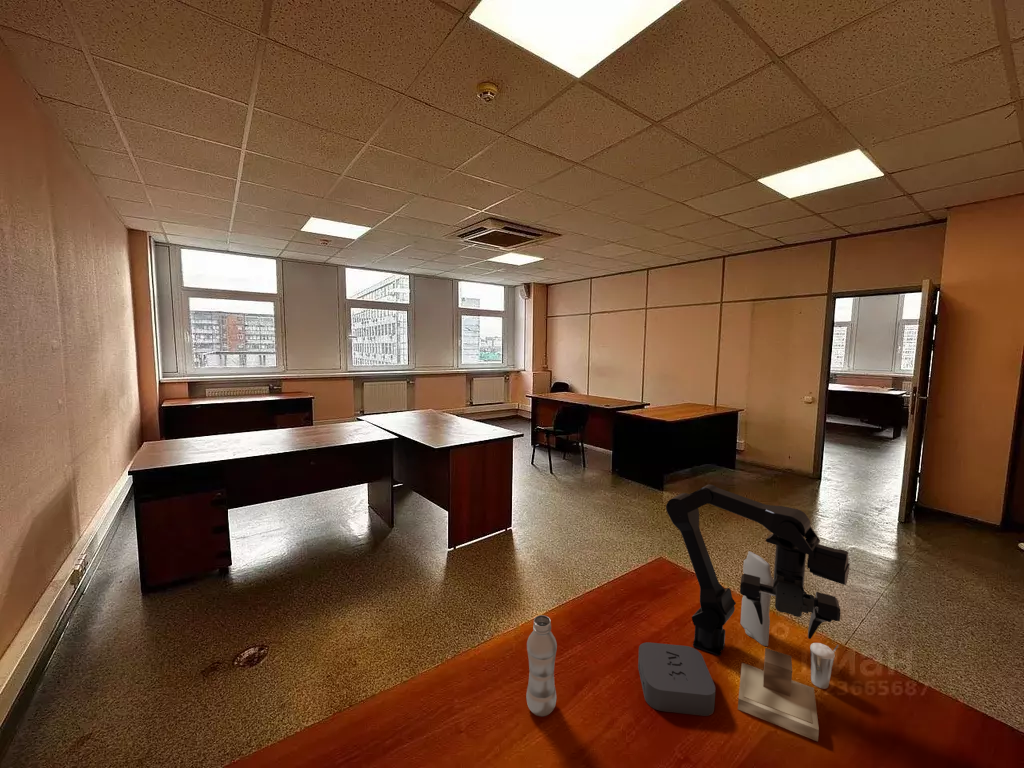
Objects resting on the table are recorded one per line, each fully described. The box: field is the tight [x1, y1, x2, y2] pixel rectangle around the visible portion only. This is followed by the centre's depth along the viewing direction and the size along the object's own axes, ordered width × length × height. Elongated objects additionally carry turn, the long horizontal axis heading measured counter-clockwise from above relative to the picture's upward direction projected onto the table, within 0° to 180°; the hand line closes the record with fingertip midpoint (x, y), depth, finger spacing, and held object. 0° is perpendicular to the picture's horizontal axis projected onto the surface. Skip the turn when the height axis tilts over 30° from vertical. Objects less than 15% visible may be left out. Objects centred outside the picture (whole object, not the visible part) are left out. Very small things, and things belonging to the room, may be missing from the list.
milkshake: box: [809, 642, 839, 690], centre depth 97 cm, size 4×5×10 cm
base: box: [737, 662, 820, 742], centre depth 92 cm, size 14×12×3 cm
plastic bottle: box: [525, 614, 558, 717], centre depth 90 cm, size 6×7×20 cm
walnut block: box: [763, 647, 793, 696], centre depth 94 cm, size 5×5×6 cm
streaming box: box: [637, 641, 716, 717], centre depth 97 cm, size 14×14×5 cm
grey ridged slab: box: [739, 550, 774, 648], centre depth 113 cm, size 11×4×22 cm, turn 8°
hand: (784, 630), depth 97 cm, fingers open, 9 cm apart
